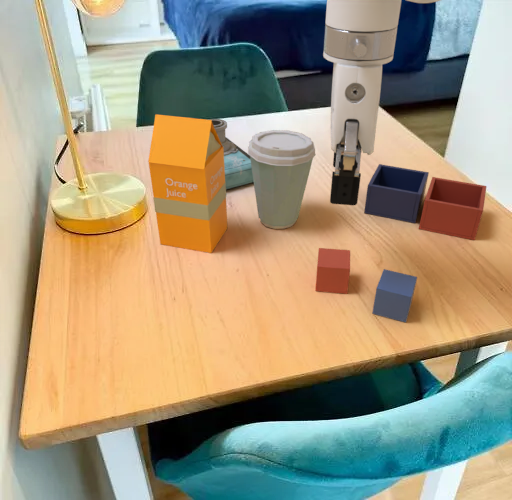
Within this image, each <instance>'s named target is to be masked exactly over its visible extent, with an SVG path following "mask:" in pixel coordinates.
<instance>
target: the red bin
mask: <svg viewBox="0 0 512 500" xmlns="http://www.w3.org/2000/svg"><path fill="white" fill-rule="evenodd" d="M486 193H487V185H483V184H477V183H472V182H465V181H459V180H454V179H448V178H441V177H436V176H432V177H431V181H430V183H429V186H428V189H427V192H426V196H425V197H424V200H423V207H422V211H421V217H420V221H419V227H418V230H422V231H427V232H432V233H437V234H441V235H447V236H451V237H455V238H456V237H457V238H460V239H467V240H471V241H475V240H476V237H477V233H478V230H479V228H480V227H479V226H480V224H481V219H482V216H483V213H484V208H485V199H486Z"/></svg>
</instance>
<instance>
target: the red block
mask: <svg viewBox="0 0 512 500" xmlns="http://www.w3.org/2000/svg"><path fill="white" fill-rule="evenodd" d="M316 264H317V265H316V275H315V277H316V278H315V280H316V281H315V292H319V293H320V292H323V293H331V294H343V295H347V294H348V290H349V281H350V273H351V250H350V249H336V248H325V247H318V253H317V263H316Z"/></svg>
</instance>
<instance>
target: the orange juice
mask: <svg viewBox="0 0 512 500" xmlns="http://www.w3.org/2000/svg"><path fill="white" fill-rule="evenodd" d="M150 141H151V142H150V147H149V155H148V161H147V162H148V167H149V169H148V170H149V175H150V183H151V188H152V196H153V197H152V198H153V205H154V211H155V216H156V223H157V231H158V237H159V243H160V245H162V246H167V247H174V248H180V249H185V250H192V251H197V252H202V253H209V254H212V253H213V251H214V250H215V248H216V247H217V245H218V244H219V242H220V241H221V239H222V238H223V236H224V235H225V233H226V231H227V230H228V228H229V227H228V211H227V210H228V209H227V189H226V182H225V169H224V149H223V147H222V144H221V142H220V140H219V137H218V135H217V133H216V130H215V128H214V126H213V124H212V120H209V119H203V118H194V117H185V116H177V115H176V116H175V115H165V114H157V113H155V115H154V122H153V128H152V136H151V140H150Z"/></svg>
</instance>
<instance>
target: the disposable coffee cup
mask: <svg viewBox="0 0 512 500" xmlns="http://www.w3.org/2000/svg"><path fill="white" fill-rule="evenodd" d="M247 154H248V155H250V160H251V167H252V174H253V181H254V182H253V188H254V194H255V201H256V209H257V214H258V217H257V218H258V219H259V221H260V223H261V224H262V225H263V226H265V227H267V228H270V229H273V230H285V229H287V228H291V227H293V225H295V224H296V222H297V220H298V218H299V216H300V212H301V207H302V204H303V200H304V195H305V191H306V188H307V184H308V180H309V175H310V171H311V168H312V163H313V160H314V157H315V156H316V147H315V144H314V141H313V140H312V138H311V137H309V136H307V135H306V134H303V133H302V132H298V131H294V130H287V129H284V130H283V129H270V130H266V131H260V132H258V133H256V134H254V135H252V137H251V139H250V140H249V141H248V146H247Z"/></svg>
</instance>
